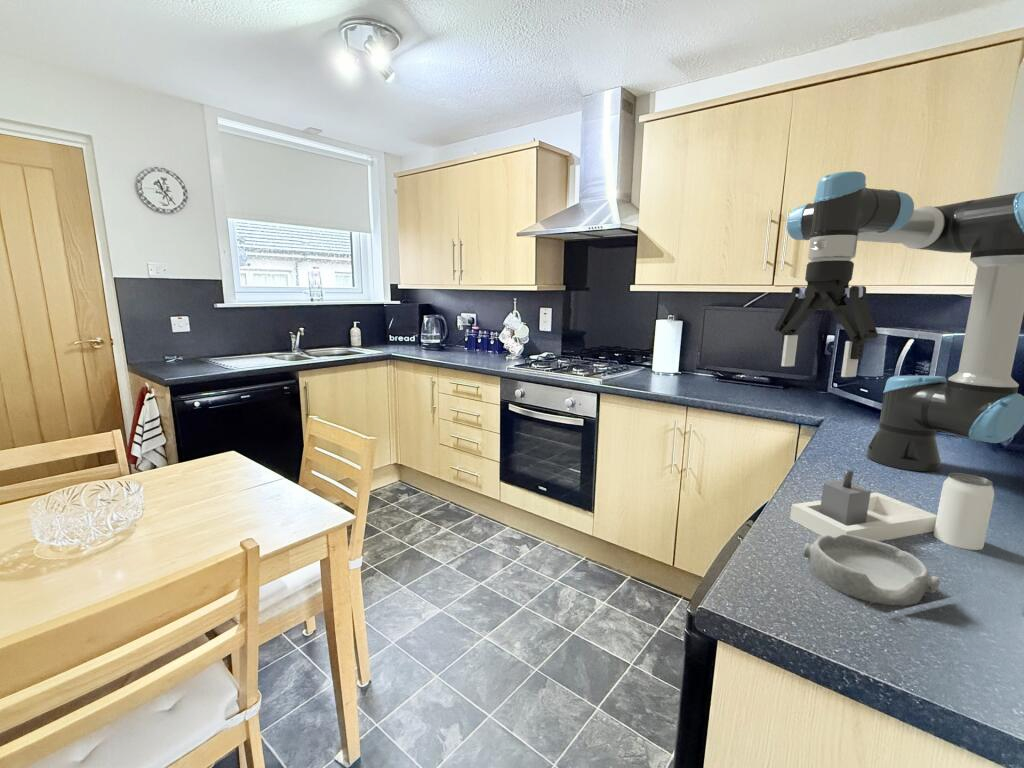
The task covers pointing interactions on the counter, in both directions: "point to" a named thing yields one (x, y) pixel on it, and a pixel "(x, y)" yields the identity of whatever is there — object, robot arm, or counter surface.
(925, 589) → the dish
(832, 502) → the seated block
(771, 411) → the counter surface
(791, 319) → the robot arm
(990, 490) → the can
